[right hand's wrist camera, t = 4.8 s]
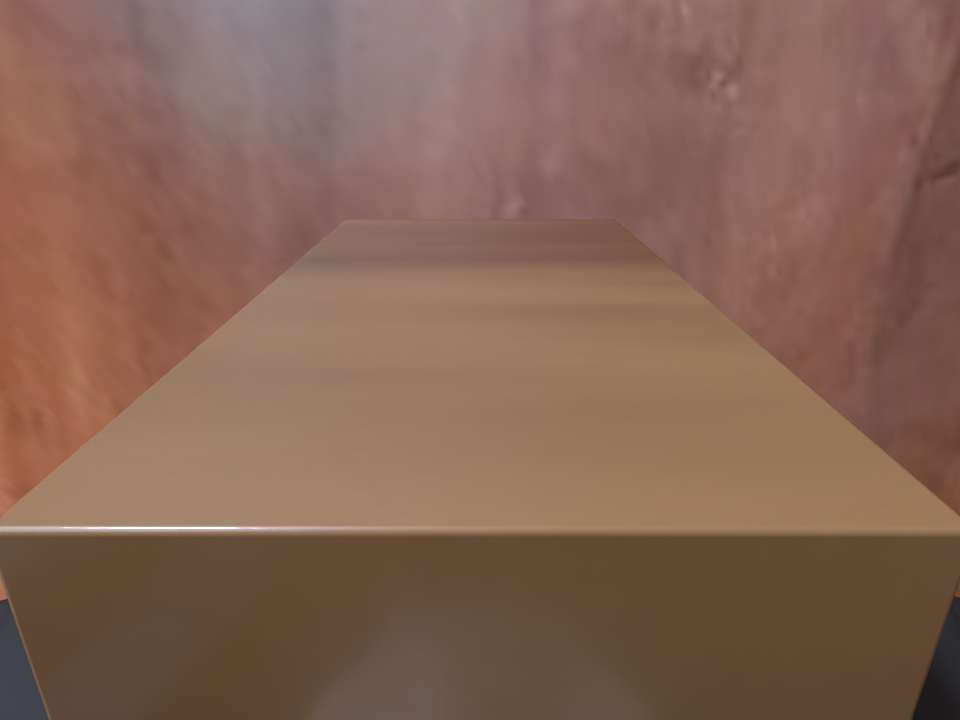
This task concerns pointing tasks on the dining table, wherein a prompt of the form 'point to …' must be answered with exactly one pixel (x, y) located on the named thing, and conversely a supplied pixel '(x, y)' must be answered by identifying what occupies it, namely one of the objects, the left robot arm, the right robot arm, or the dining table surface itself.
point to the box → (480, 507)
